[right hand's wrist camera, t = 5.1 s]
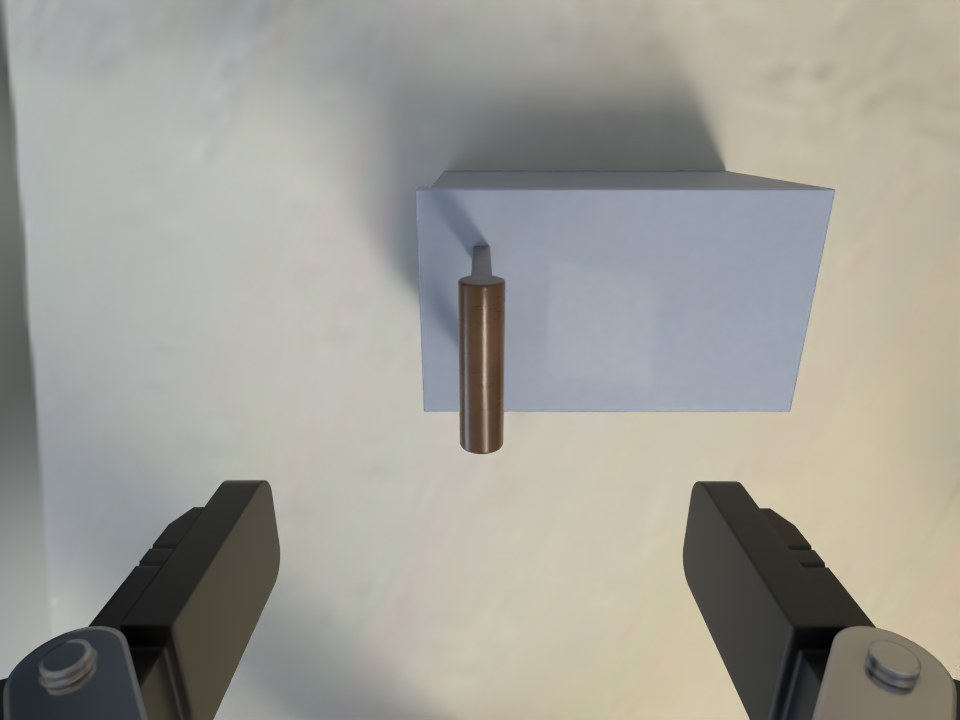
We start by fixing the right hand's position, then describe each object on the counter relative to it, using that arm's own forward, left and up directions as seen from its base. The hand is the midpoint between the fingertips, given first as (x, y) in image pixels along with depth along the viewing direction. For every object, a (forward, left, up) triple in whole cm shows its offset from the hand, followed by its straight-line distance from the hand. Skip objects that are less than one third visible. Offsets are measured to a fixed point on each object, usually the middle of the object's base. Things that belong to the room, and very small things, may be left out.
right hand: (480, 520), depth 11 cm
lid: (-4, -4, -16) cm, 17 cm away
